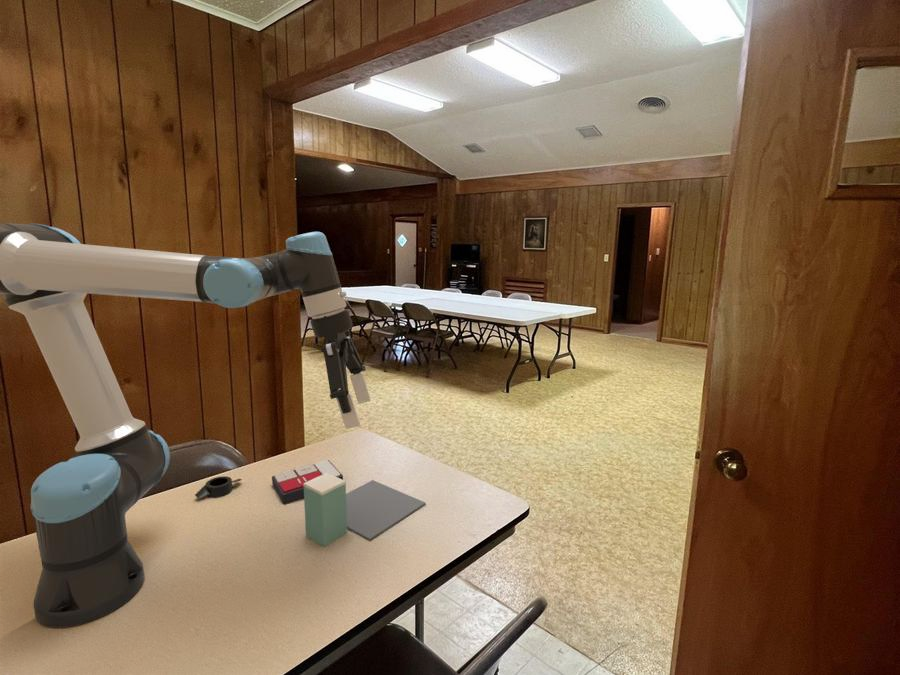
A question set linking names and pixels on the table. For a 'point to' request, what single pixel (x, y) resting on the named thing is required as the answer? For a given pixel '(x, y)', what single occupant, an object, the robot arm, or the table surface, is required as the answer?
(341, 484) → the block
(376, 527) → the mat
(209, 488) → the black ring with arms
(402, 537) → the table surface
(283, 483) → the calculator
